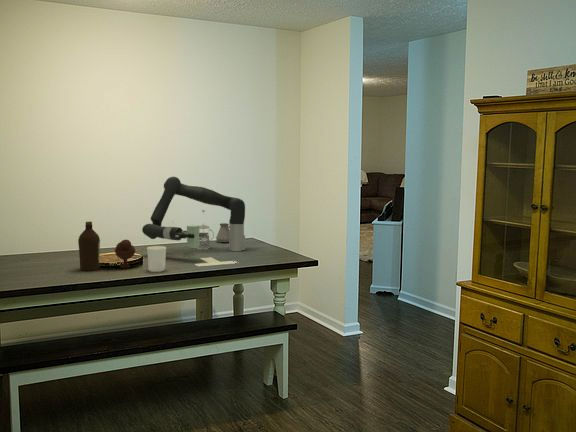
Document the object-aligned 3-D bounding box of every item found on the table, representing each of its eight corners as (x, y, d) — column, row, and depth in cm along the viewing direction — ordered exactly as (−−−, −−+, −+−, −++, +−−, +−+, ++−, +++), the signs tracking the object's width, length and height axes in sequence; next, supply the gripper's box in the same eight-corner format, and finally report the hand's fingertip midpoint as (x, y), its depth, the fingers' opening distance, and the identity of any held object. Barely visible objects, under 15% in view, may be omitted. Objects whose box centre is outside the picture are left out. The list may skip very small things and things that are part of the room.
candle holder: (168, 268, 300) (168, 246, 299) (162, 272, 290) (162, 249, 289) (150, 268, 301) (150, 245, 299) (144, 271, 291) (144, 248, 290)
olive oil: (81, 272, 288) (80, 223, 285) (77, 268, 297) (75, 221, 294) (102, 270, 293) (101, 222, 291) (97, 266, 302) (96, 220, 299)
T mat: (185, 259, 326) (185, 259, 326) (224, 256, 337) (224, 256, 337) (198, 266, 307) (198, 266, 307) (239, 263, 318) (239, 263, 318)
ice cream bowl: (139, 265, 306) (139, 238, 304) (127, 269, 296) (127, 241, 294) (123, 264, 310) (122, 237, 308) (110, 268, 299) (110, 240, 297)
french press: (195, 246, 369) (195, 209, 367) (213, 246, 371) (213, 209, 368) (195, 249, 360) (195, 210, 357) (213, 249, 361) (213, 210, 358)
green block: (192, 245, 324) (192, 225, 322) (199, 246, 321) (199, 225, 320) (187, 247, 319) (186, 226, 318) (194, 247, 317) (194, 226, 316)
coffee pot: (213, 241, 393) (213, 220, 391) (228, 240, 399) (228, 219, 397) (226, 246, 374) (226, 223, 373) (241, 245, 380) (242, 223, 379)
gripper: (164, 228, 319) (189, 230, 312) (180, 225, 332) (204, 227, 324) (165, 241, 320) (189, 244, 312) (180, 238, 333) (204, 240, 325)
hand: (197, 235), depth 318 cm, fingers closed on green block, 5 cm apart
